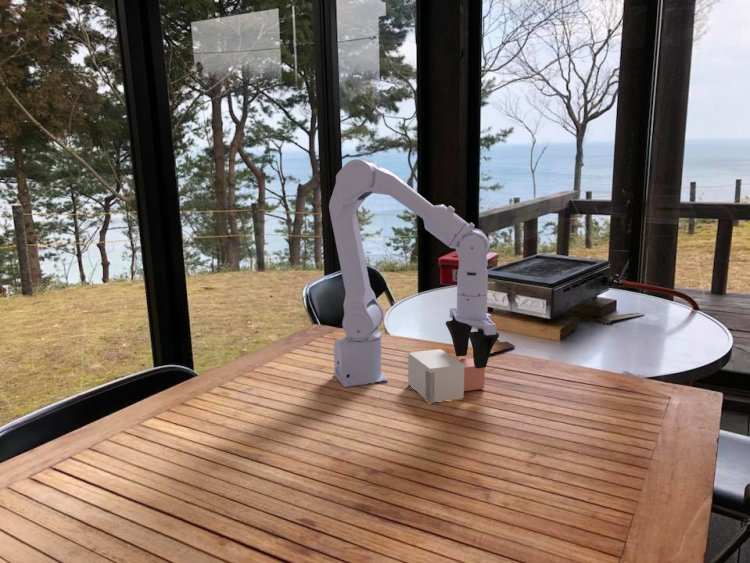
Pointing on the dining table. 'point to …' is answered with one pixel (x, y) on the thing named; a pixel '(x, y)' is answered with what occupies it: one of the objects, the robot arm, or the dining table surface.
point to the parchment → (499, 346)
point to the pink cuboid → (472, 375)
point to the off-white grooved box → (436, 375)
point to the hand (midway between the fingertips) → (470, 361)
